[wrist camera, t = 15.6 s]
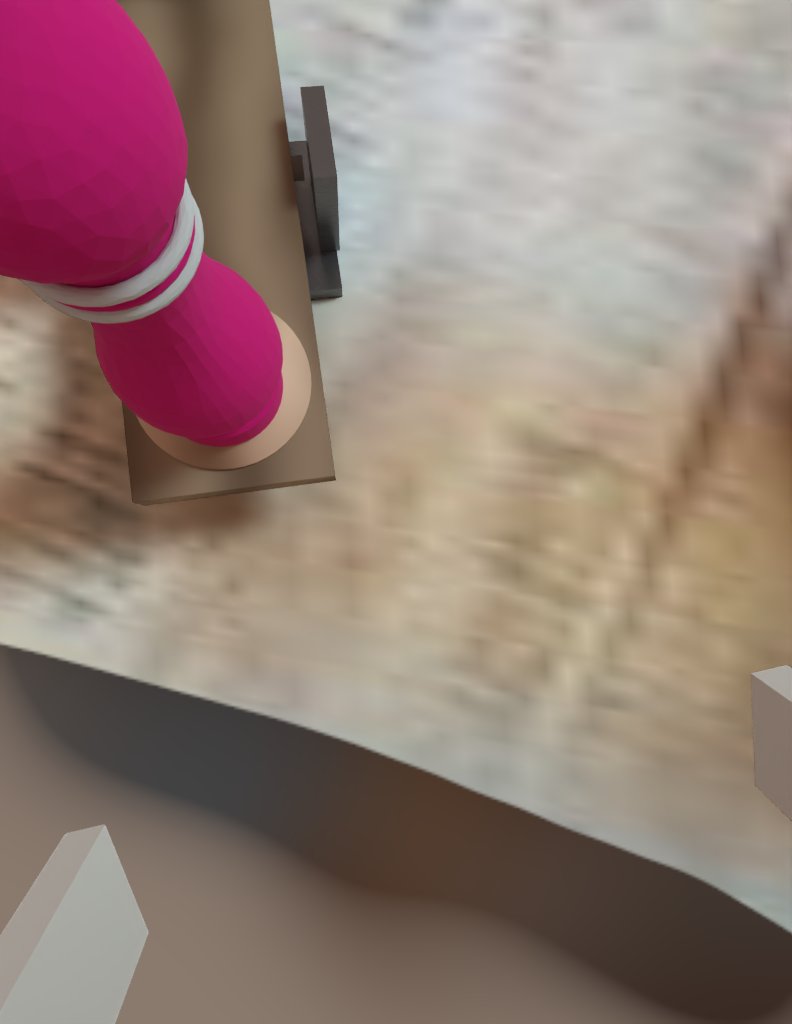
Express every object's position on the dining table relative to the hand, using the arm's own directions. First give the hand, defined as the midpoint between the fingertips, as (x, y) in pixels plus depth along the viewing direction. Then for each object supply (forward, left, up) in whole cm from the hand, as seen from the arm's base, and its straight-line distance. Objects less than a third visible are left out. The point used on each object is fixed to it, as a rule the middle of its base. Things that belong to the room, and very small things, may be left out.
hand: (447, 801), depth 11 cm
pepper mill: (+7, -15, -16) cm, 23 cm away
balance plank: (+6, -27, -17) cm, 32 cm away
